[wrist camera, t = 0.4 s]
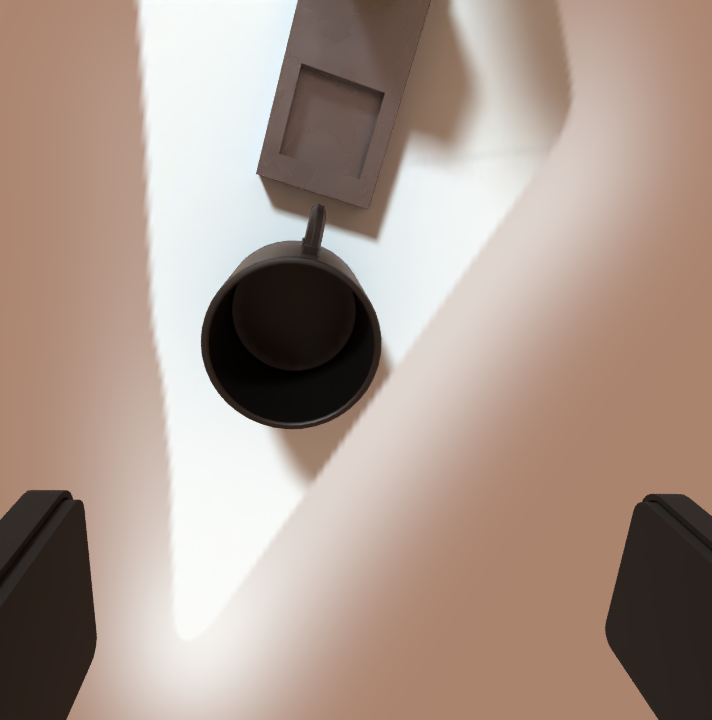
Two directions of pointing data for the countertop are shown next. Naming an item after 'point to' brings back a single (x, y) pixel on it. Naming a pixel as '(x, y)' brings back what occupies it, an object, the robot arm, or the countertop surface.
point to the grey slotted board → (340, 94)
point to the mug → (292, 334)
